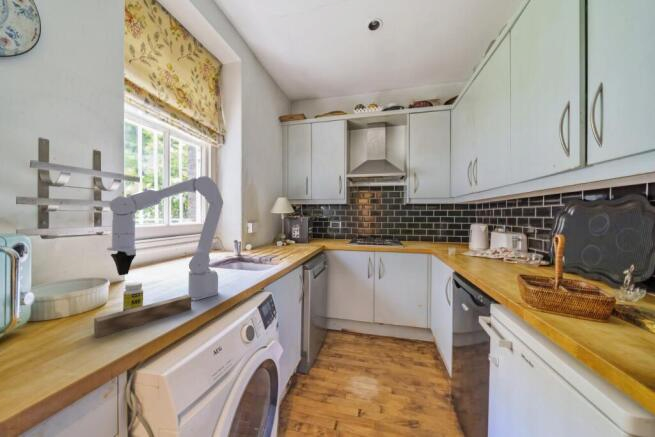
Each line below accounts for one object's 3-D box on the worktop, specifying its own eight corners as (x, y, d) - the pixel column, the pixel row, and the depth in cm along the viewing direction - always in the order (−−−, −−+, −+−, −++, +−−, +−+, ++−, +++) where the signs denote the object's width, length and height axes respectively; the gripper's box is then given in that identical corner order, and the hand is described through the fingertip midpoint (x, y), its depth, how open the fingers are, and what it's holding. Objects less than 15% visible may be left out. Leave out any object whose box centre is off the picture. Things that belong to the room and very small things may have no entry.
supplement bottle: (131, 314, 71) (131, 286, 71) (118, 313, 72) (119, 285, 72) (146, 308, 75) (147, 282, 75) (134, 307, 76) (135, 281, 76)
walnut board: (186, 307, 77) (186, 294, 77) (191, 309, 76) (191, 296, 76) (94, 334, 59) (94, 318, 59) (97, 337, 57) (97, 321, 57)
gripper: (100, 232, 79) (100, 273, 79) (115, 235, 71) (115, 280, 71) (127, 232, 85) (126, 269, 85) (143, 234, 77) (143, 276, 77)
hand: (123, 274), depth 78 cm, fingers closed
